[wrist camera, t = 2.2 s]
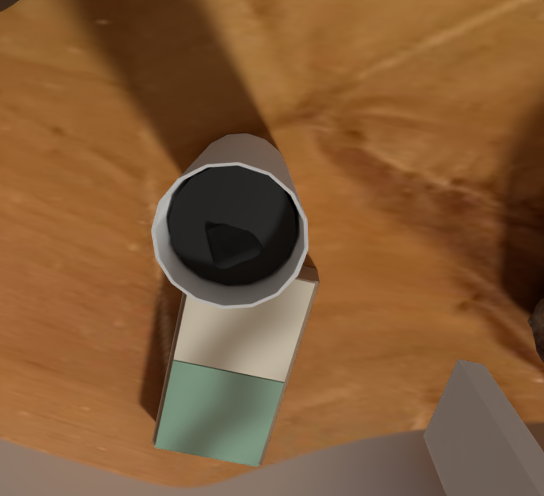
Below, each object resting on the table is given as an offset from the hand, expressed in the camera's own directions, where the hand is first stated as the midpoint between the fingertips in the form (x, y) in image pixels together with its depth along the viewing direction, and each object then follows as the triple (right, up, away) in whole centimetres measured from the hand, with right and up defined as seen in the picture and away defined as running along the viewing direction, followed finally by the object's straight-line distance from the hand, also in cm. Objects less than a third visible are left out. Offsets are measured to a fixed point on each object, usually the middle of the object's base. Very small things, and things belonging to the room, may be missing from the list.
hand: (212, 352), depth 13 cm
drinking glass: (0, +7, +17) cm, 19 cm away
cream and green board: (-1, -4, +22) cm, 22 cm away
